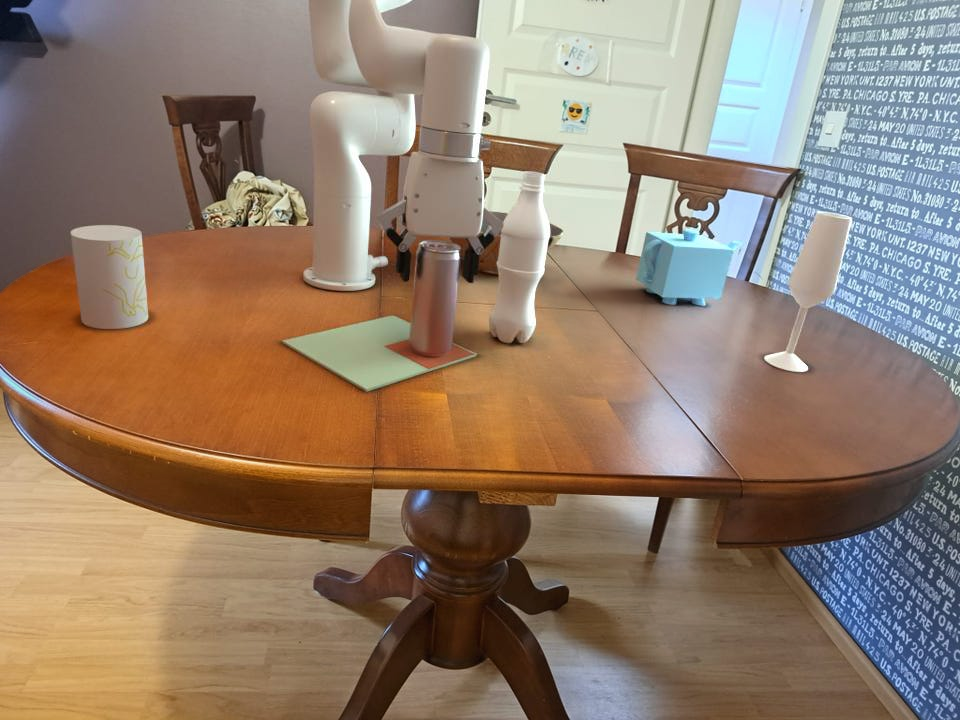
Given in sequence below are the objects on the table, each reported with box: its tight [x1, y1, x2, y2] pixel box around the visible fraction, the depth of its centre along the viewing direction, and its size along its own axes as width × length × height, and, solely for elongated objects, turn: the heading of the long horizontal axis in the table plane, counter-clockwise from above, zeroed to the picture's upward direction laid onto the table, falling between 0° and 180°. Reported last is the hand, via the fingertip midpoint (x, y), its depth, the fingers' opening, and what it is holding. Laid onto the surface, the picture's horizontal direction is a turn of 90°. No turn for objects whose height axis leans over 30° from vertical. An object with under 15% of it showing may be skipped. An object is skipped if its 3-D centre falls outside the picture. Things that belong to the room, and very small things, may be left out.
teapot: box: [635, 228, 745, 306], centre depth 133 cm, size 22×11×14 cm, turn 105°
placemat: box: [281, 314, 478, 393], centre depth 92 cm, size 20×18×1 cm
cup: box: [70, 224, 149, 330], centre depth 89 cm, size 8×8×12 cm
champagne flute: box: [763, 211, 853, 373], centre depth 102 cm, size 7×7×24 cm
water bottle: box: [488, 170, 550, 344], centre depth 98 cm, size 7×7×25 cm
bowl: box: [449, 210, 564, 276], centre depth 136 cm, size 25×25×10 cm
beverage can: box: [409, 239, 462, 357], centre depth 90 cm, size 6×6×15 cm
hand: (436, 278), depth 89 cm, fingers open, 8 cm apart
